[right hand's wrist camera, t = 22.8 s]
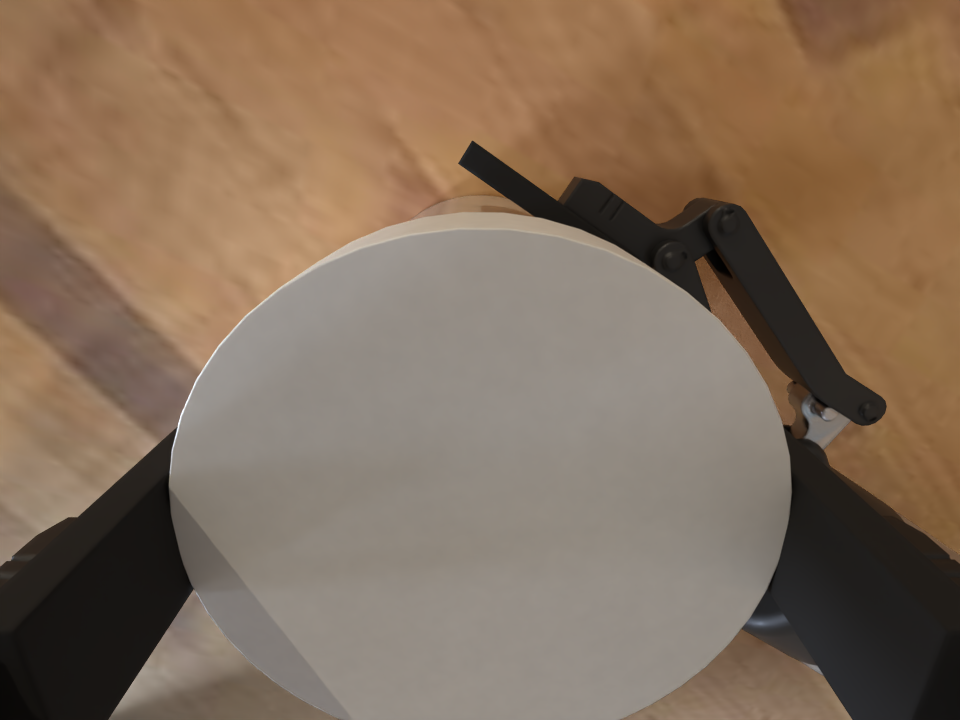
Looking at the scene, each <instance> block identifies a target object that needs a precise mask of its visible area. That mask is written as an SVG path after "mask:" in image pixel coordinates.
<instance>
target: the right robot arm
mask: <svg viewBox="0 0 960 720" xmlns="http://www.w3.org/2000/svg"><path fill="white" fill-rule="evenodd" d="M177 428H178V427H177ZM177 428H176V429H174V430H173V431H172V432H171V433H170V434H169V435H168V436H167V437H166V438H165V439H163V440H162V441H161V442H160V443H159V444H158V445H157V446H156V447H155V448H154V449H152V450H151V451H150V452H149V453H148V454H147V455H146V456H145V457H144V458H143V459H141V460H140V461H139V462H138V463H137V464H136V465H135V466H134V467H133V468H132V469H130V470H129V471H128V472H127V473H126V474H125V475H124V476H123V477H122V478H121V479H119V480H118V481H117V482H116V483H115V484H114V485H113V486H112V487H111V488H110V489H108V490H107V491H106V492H105V493H104V494H103V495H102V496H101V497H100V498H99V499H97V500H96V501H95V502H94V503H93V504H92V505H91V506H90V507H89V508H87V509H86V510H85V511H84V512H83V513H82V514H81V515H80V516H79V517H68V518H67V519H65V520H63V521H61V522H60V523H58V524H56V525H54V526H53V527H51V528H49V529H47V530H45V531H44V532H42V533H40V534H38V535H37V536H35V537H34V538H33V539H32V540H31V541H30V542H29V543H27V544H26V545H25V546H24V547H23V548H22V549H20V550H19V551H18V552H17V553H16V554H15V555H13V556H12V560H11V561H7V562H5V563H4V564H3V565H2V566H1V567H0V720H108V719H109V717H110V716H111V714H112V713H113V711H114V710H115V708H116V707H117V705H118V704H119V702H120V701H121V699H122V698H123V696H124V694H125V693H126V691H127V690H128V688H129V687H130V685H131V684H132V682H133V681H134V679H135V678H136V676H137V675H138V673H139V672H140V670H141V669H142V667H143V665H144V664H145V662H146V661H147V659H148V658H149V656H150V655H151V653H152V652H153V650H154V649H155V647H156V646H157V644H158V643H159V641H160V640H161V638H162V636H163V635H164V633H165V632H166V630H167V629H168V627H169V626H170V624H171V623H172V621H173V620H174V618H175V617H176V615H177V614H178V612H179V611H180V609H181V607H182V606H183V604H184V603H185V601H186V600H187V598H188V597H189V595H190V594H191V592H192V591H193V589H194V588H193V586H192V585H191V583H190V580H189V577H188V575H187V572H186V570H185V567H184V565H183V562H182V558H181V555H180V551H179V547H178V542H177V538H176V534H175V530H174V526H173V522H172V517H171V510H170V496H169V477H170V466H171V455H172V448H173V444H174V440H175V436H176V432H177ZM783 429H784V433H785V437H786V442H787V446H788V450H789V455H790V467H791V483H792V497H791V507H790V516H789V521H788V526H787V530H786V534H785V538H784V542H783V546H782V550H781V554H780V558H779V562H778V565H777V567H776V570H775V572H774V574H773V577H772V579H771V582H770V584H769V586H768V589H767V590H768V591H769V593H770V594H771V596H772V597H773V599H774V600H775V602H776V604H777V605H778V607H779V608H780V610H781V611H782V613H783V614H784V616H785V617H786V619H787V620H788V622H789V623H790V625H791V626H792V628H793V629H794V631H795V633H796V634H797V636H798V637H799V639H800V640H801V642H802V643H803V645H804V646H805V648H806V649H807V651H808V652H809V654H810V655H811V657H812V658H813V660H814V662H815V663H816V665H817V666H818V668H819V669H820V671H821V672H822V674H823V675H824V677H825V678H826V680H827V681H828V683H829V684H830V686H831V687H832V689H833V691H834V692H835V694H836V695H837V697H838V698H839V700H840V701H841V703H842V704H843V706H844V707H845V709H846V710H847V712H848V713H849V715H850V716H851V718H852V720H960V564H959V563H958V562H957V561H956V560H955V559H950V555H949V554H948V553H947V552H946V551H944V550H943V549H942V548H941V547H940V546H939V545H937V544H936V543H935V542H934V541H933V540H932V539H930V538H929V537H928V536H927V535H926V534H924V533H923V532H921V531H919V530H917V529H915V528H914V527H912V526H910V525H908V524H907V523H905V522H903V521H901V520H900V519H898V518H896V517H894V516H881V515H880V514H879V513H878V512H876V511H875V510H874V509H873V508H872V507H871V506H870V505H869V504H868V503H867V502H865V501H864V500H863V499H862V498H861V497H860V496H859V495H858V494H857V493H856V492H854V491H853V490H852V489H851V488H850V487H849V486H848V485H847V484H846V483H845V482H843V481H842V480H841V479H840V478H839V477H838V476H837V475H836V474H835V473H834V472H832V471H831V470H830V469H829V468H828V467H827V466H826V465H825V464H824V463H822V462H821V461H820V460H819V459H818V458H817V457H816V456H815V455H814V454H813V453H811V452H810V451H809V450H808V449H807V448H806V447H805V446H804V445H803V444H802V443H800V442H799V441H798V440H797V439H796V438H795V437H794V436H793V435H792V434H791V433H789V432H788V431H787V430H786V429H785V428H784V427H783Z"/></svg>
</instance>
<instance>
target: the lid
mask: <svg viewBox="0 0 960 720" xmlns="http://www.w3.org/2000/svg"><path fill="white" fill-rule="evenodd" d="M169 496H170V510H171V517H172V522H173V526H174V530H175V534H176V538H177V542H178V547H179V551H180V555H181V558H182V562H183V565H184V567H185V570H186V572H187V575H188V577H189V580H190V583H191V585H192V586H193V588H194V590H195V592H196V593H197V595H198V597H199V599H200V601H201V602H202V604H203V606H204V608H205V609H206V611H207V613H208V614H209V615H210V617H211V618H212V619H213V621H214V622H215V623H216V625H217V626H218V627H219V629H220V630H221V631H222V633H223V634H224V635H225V637H226V638H227V639H228V640H229V641H230V642H231V643H232V644H233V645H234V646H235V647H236V648H237V649H238V650H239V651H240V653H241V654H242V655H243V656H244V657H245V658H246V659H247V660H248V661H249V662H250V663H251V664H253V665H254V666H255V667H256V668H258V669H259V670H260V671H261V672H263V673H264V674H265V675H266V676H267V677H269V678H270V679H271V680H272V681H274V682H275V683H276V684H278V685H279V686H281V687H282V688H284V689H285V690H287V691H288V692H290V693H292V694H293V695H295V696H296V697H298V698H299V699H301V700H302V701H304V702H306V703H308V704H310V705H312V706H314V707H316V708H318V709H320V710H322V711H324V712H326V713H328V714H329V715H331V716H334V717H336V718H339V719H341V720H620V719H623V718H625V717H627V716H629V715H631V714H633V713H635V712H637V711H639V710H641V709H643V708H645V707H647V706H650V705H652V704H653V703H655V702H657V701H658V700H660V699H661V698H663V697H665V696H666V695H668V694H669V693H671V692H673V691H674V690H676V689H678V688H679V687H681V686H682V685H683V684H685V683H686V682H687V681H688V680H690V679H691V678H692V677H693V676H695V675H696V674H697V673H699V672H700V671H701V670H702V669H704V668H705V667H706V666H707V665H708V664H709V663H710V662H711V661H712V660H713V659H714V658H715V657H716V656H717V655H718V654H719V653H720V652H721V651H723V650H724V649H725V648H726V647H727V646H728V645H729V644H730V642H731V641H732V640H733V639H734V637H735V636H736V635H737V634H738V632H739V631H740V630H741V629H742V627H743V626H744V625H745V623H746V622H747V621H748V620H749V618H750V617H751V615H752V614H753V612H754V610H755V609H756V607H757V605H758V604H759V602H760V600H761V599H762V597H763V595H764V594H765V592H766V590H767V589H768V586H769V584H770V582H771V579H772V577H773V574H774V572H775V570H776V567H777V565H778V562H779V558H780V554H781V550H782V546H783V542H784V538H785V534H786V530H787V526H788V521H789V516H790V507H791V497H792V483H791V467H790V455H789V450H788V446H787V442H786V437H785V433H784V429H783V424H782V420H781V418H780V415H779V413H778V410H777V408H776V405H775V403H774V400H773V398H772V396H771V393H770V391H769V388H768V386H767V384H766V382H765V381H764V379H763V377H762V376H761V374H760V373H759V371H758V369H757V368H756V366H755V364H754V363H753V361H752V360H751V358H750V356H749V355H748V353H747V351H746V350H745V349H744V348H743V347H742V346H741V344H740V343H739V342H738V341H737V340H736V339H735V337H734V336H733V335H732V334H731V333H730V332H729V330H728V329H727V328H726V327H725V326H724V325H723V323H722V322H721V321H720V320H719V319H718V318H717V317H715V316H714V315H713V314H712V313H711V312H710V311H708V310H707V309H706V308H705V307H704V306H703V305H701V304H700V303H699V302H698V301H697V300H696V299H694V298H693V297H692V296H691V295H690V294H689V293H688V292H686V291H685V290H683V289H682V288H680V287H679V286H677V285H676V284H674V283H673V282H671V281H670V280H668V279H667V278H666V277H664V276H663V275H661V274H660V273H658V272H657V271H655V270H654V269H652V268H651V267H649V266H648V265H646V264H645V263H643V262H641V261H640V260H638V259H637V258H635V257H634V256H632V255H630V254H629V253H627V252H626V251H624V250H622V249H621V248H619V247H618V246H616V245H614V244H612V243H610V242H608V241H605V240H603V239H601V238H599V237H596V236H594V235H592V234H590V233H587V232H585V231H583V230H581V229H578V228H574V227H571V226H567V225H564V224H560V223H557V222H554V221H550V220H547V219H543V218H537V217H530V216H523V215H517V214H510V213H497V212H461V213H453V214H445V215H437V216H429V217H423V218H419V219H415V220H411V221H408V222H404V223H400V224H396V225H393V226H389V227H386V228H383V229H381V230H378V231H376V232H374V233H371V234H369V235H367V236H364V237H362V238H359V239H357V240H355V241H352V242H350V243H349V244H347V245H345V246H344V247H342V248H340V249H339V250H337V251H335V252H334V253H332V254H330V255H329V256H327V257H325V258H324V259H322V260H320V261H319V262H317V263H316V264H314V265H313V266H311V267H310V268H308V269H307V270H305V271H304V272H302V273H301V274H299V275H298V276H296V277H295V278H293V279H292V280H290V281H289V282H287V283H286V284H284V285H283V286H281V287H280V288H279V289H277V290H276V291H275V292H274V293H273V294H271V295H270V296H269V297H268V298H266V299H265V300H264V301H263V302H262V303H260V304H259V305H258V306H257V307H255V308H254V309H253V310H252V311H251V312H249V313H248V314H247V315H246V316H245V317H244V318H243V319H242V320H241V321H240V322H239V324H238V325H237V326H236V327H235V328H234V329H233V330H232V331H231V332H230V334H229V335H228V336H227V337H226V338H225V339H224V340H223V341H222V342H221V344H220V345H219V346H218V347H217V349H216V350H215V352H214V353H213V355H212V356H211V358H210V359H209V361H208V363H207V364H206V366H205V367H204V369H203V370H202V372H201V373H200V375H199V376H198V378H197V379H196V382H195V384H194V386H193V388H192V391H191V393H190V395H189V398H188V400H187V402H186V404H185V407H184V409H183V411H182V413H181V417H180V421H179V424H178V428H177V432H176V436H175V440H174V444H173V448H172V455H171V466H170V477H169Z"/></svg>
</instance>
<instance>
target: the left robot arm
mask: <svg viewBox="0 0 960 720" xmlns="http://www.w3.org/2000/svg"><path fill="white" fill-rule="evenodd" d="M458 164H460V165H461V166H462V167H464V168H465V169H467V170H468V171H470V172H471V173H472V174H474V175H475V176H477V177H478V178H480V179H481V180H482V181H484V182H485V183H487V184H488V185H490V186H491V187H492V188H494V189H495V190H497V191H498V192H500V193H501V194H502V195H504V196H505V197H507V198H508V199H510V200H511V201H512V202H514V203H515V204H517V205H518V206H520V207H521V208H522V209H524V210H525V211H527V212H528V213H530V214H531V215H533V216H534V217H537V218H543V219H547V220H550V221H554V222H557V223H560V224H564V225H567V226H571V227H574V228H578V229H581V230H583V231H585V232H587V233H590V234H592V235H594V236H596V237H599V238H601V239H603V240H605V241H608V242H610V243H612V244H614V245H616V246H618V247H619V248H621V249H622V250H624V251H626V252H627V253H629V254H630V255H632V256H634V257H635V258H637V259H638V260H640V261H641V262H643V263H645V264H646V265H648V266H649V267H651V268H652V269H654V270H655V271H657V272H658V273H660V274H661V275H663V276H664V277H666V278H667V279H668V280H670V281H671V282H673V283H674V284H676V285H677V286H679V287H680V288H682V289H683V290H685V291H686V292H688V293H689V294H690V295H691V296H692V297H693V298H694V299H696V300H697V301H698V302H699V303H700V304H701V305H703V306H704V307H705V308H706V309H707V310H708V311H710V312H711V310H710V307H709V304H708V301H707V298H706V295H705V292H704V289H703V286H702V283H701V280H700V277H699V274H698V271H697V268H696V265H695V261H696V260H698V259H699V258H701V257H702V256H704V258H705V259H706V261H707V262H708V264H709V265H710V267H711V268H712V270H713V271H714V273H715V274H716V276H717V277H718V279H719V280H720V282H721V283H722V285H723V286H724V288H725V289H726V291H727V293H728V294H729V296H730V297H731V299H732V300H733V302H734V303H735V305H736V306H737V308H738V309H739V311H740V312H741V314H742V315H743V317H744V318H745V320H746V321H747V323H748V324H749V326H750V327H751V329H752V330H753V332H754V333H755V335H756V336H757V338H758V339H759V341H760V342H761V344H762V345H763V347H764V348H765V350H766V351H767V353H768V354H769V356H770V357H771V359H772V360H773V362H774V363H775V364H776V365H777V367H778V368H779V369H780V370H781V371H782V372H783V373H784V374H785V375H787V376H788V377H789V378H791V379H792V380H793V381H792V382H791V383H789V384H788V386H787V391H788V393H789V398H788V400H789V403H790V404H791V406H792V407H793V408H794V409H795V412H796V419H795V421H794V423H793V424H792V426H790V425H783V427H784V428H785V429H786V430H787V431H788V432H789V433H791V434H792V435H793V436H794V437H795V438H796V439H797V440H798V441H799V442H800V443H802V444H803V445H804V446H805V447H806V448H807V449H808V450H809V451H810V452H811V453H813V454H814V455H815V456H816V457H817V458H818V459H819V460H820V461H821V462H822V463H824V464H825V465H826V466H827V467H828V468H829V469H830V470H831V471H832V472H834V473H835V474H836V475H837V476H838V477H839V478H840V479H841V480H842V481H843V482H845V483H846V484H847V485H848V486H849V487H850V488H851V489H852V490H853V491H854V492H856V493H857V494H858V495H859V496H860V497H861V498H862V499H863V500H864V501H865V502H867V503H868V504H869V505H870V506H871V507H872V508H873V509H874V510H875V511H876V512H878V513H879V514H880V515H881V516H894V517H896V518H898V519H900V520H901V521H903V522H905V523H907V524H908V525H910V526H912V527H914V528H915V529H917V530H919V531H921V532H923V533H924V534H926V535H927V536H928V537H929V538H930V539H932V540H933V541H934V542H935V543H936V544H937V545H939V546H940V547H941V548H942V549H943V550H944V551H946V552H947V553H948V554H949V555H950V559H955V560H956V561H957V562H958V563H959V564H960V555H959V554H957V553H956V552H955V551H953V550H952V549H950V548H949V547H947V546H946V545H944V544H943V543H941V542H940V541H939V540H937V539H936V538H934V537H933V536H931V535H930V534H928V533H927V532H925V531H924V530H923V529H921V528H920V527H918V526H917V525H915V524H914V523H912V522H911V521H909V520H908V519H906V518H905V517H903V516H902V515H900V514H899V513H897V512H895V511H894V510H893V509H892V508H890V507H889V506H888V505H886V504H885V503H884V502H882V501H881V500H879V499H878V498H876V497H875V496H873V495H872V494H870V493H869V492H867V491H866V490H864V489H863V488H861V487H860V486H859V485H857V484H856V483H854V482H853V481H851V480H850V479H848V478H847V477H845V476H844V475H842V474H841V473H839V472H838V471H836V470H835V469H833V468H832V467H830V465H829V463H828V459H827V456H826V454H825V452H824V449H825V448H826V447H827V446H828V444H829V443H830V442H831V441H832V440H833V439H834V438H835V437H836V436H837V435H838V434H839V433H840V432H841V431H842V430H843V429H844V427H845V426H846V425H847V424H848V423H849V422H850V421H853V422H854V423H856V424H859V425H861V426H865V425H871V424H873V423H876V422H877V421H878V420H880V419H881V418H882V416H883V415H884V414H885V411H886V407H887V406H886V402H885V400H884V399H883V398H882V397H881V396H879V395H878V394H876V393H875V392H873V391H872V390H870V389H868V388H867V387H865V386H864V385H862V384H861V383H859V382H858V381H856V380H855V379H853V378H852V377H850V376H848V375H847V374H846V373H845V372H844V370H843V368H842V367H841V365H840V364H839V362H838V360H837V359H836V357H835V355H834V354H833V352H832V351H831V349H830V347H829V346H828V344H827V342H826V341H825V339H824V338H823V336H822V334H821V333H820V331H819V329H818V328H817V326H816V325H815V323H814V321H813V320H812V318H811V317H810V315H809V313H808V312H807V310H806V308H805V307H804V305H803V304H802V302H801V300H800V299H799V297H798V295H797V294H796V292H795V291H794V289H793V287H792V286H791V284H790V282H789V281H788V279H787V278H786V276H785V274H784V273H783V271H782V269H781V268H780V266H779V265H778V263H777V261H776V260H775V258H774V257H773V255H772V253H771V252H770V250H769V248H768V247H767V245H766V244H765V242H764V240H763V239H762V237H761V235H760V234H759V232H758V231H757V229H756V227H755V226H754V224H753V222H752V221H751V219H750V218H749V216H748V214H747V213H746V211H745V210H744V209H743V208H742V207H741V206H738V205H735V204H731V203H727V202H722V201H717V200H712V199H707V198H696V199H694V200H692V201H690V202H689V203H688V204H687V205H686V206H685V208H684V210H683V212H681V213H680V214H679V215H677V216H676V217H674V218H673V219H671V220H669V221H668V222H665V223H661V224H655V223H653V222H652V221H651V220H649V219H648V218H647V217H645V216H644V215H643V214H641V213H640V212H638V211H637V210H636V209H634V208H633V207H632V206H630V205H629V204H628V203H626V202H625V201H623V200H622V199H621V198H619V197H618V196H617V195H615V194H614V193H613V192H611V191H610V190H609V189H607V188H606V187H605V186H603V185H602V184H600V183H599V182H595V181H591V180H587V179H583V178H578V177H574V178H573V180H572V181H571V183H570V184H569V185H568V187H567V188H566V190H565V191H564V193H563V194H562V196H561V197H560V199H559V200H558V201H556V200H555V199H554V198H552V197H551V196H549V195H548V194H547V193H545V192H544V191H542V190H541V189H540V188H538V187H537V186H535V185H534V184H533V183H531V182H530V181H528V180H527V179H526V178H524V177H523V176H521V175H520V174H519V173H517V172H516V171H514V170H513V169H512V168H510V167H509V166H507V165H506V164H505V163H503V162H502V161H500V160H499V159H498V158H496V157H495V156H493V155H492V154H490V153H489V152H488V151H486V150H485V149H483V148H482V147H481V146H479V145H478V144H476V143H475V142H474V141H472V142H471V143H470V145H469V147H468V148H467V150H466V152H465V153H464V155H463V157H462V158H461V160H460V162H459V163H458ZM742 629H743V630H744V631H746V632H748V633H750V634H751V635H753V636H755V637H757V638H759V639H760V640H762V641H764V642H766V643H767V644H769V645H771V646H773V647H774V648H776V649H778V650H780V651H781V652H783V653H785V654H787V655H789V656H790V657H792V658H794V659H796V660H798V661H800V662H802V663H803V664H805V665H807V666H808V667H810V668H811V669H813V670H814V671H816V672H818V673H819V674H821V675H823V674H822V672H821V671H820V669H819V668H818V666H817V665H816V663H815V662H814V660H813V658H812V657H811V655H810V654H809V652H808V651H807V649H806V648H805V646H804V645H803V643H802V642H801V640H800V639H799V637H798V636H797V634H796V633H795V631H794V629H793V628H792V626H791V625H790V623H789V622H788V620H787V619H786V617H785V616H784V614H783V613H782V611H781V610H780V608H779V607H778V605H777V604H776V602H775V600H774V599H773V597H772V596H771V594H770V593H769V591H768V590H766V592H765V594H764V595H763V597H762V599H761V600H760V602H759V604H758V605H757V607H756V609H755V610H754V612H753V614H752V615H751V617H750V618H749V620H748V621H747V622H746V623H745V625H744V626H743V627H742ZM823 676H824V675H823Z"/></svg>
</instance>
